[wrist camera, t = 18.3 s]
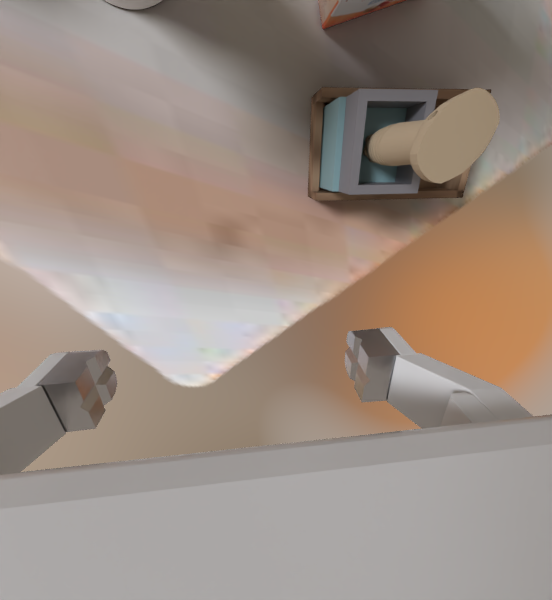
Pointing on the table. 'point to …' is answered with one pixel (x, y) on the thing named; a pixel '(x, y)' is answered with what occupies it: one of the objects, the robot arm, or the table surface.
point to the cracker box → (349, 9)
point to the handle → (439, 137)
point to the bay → (426, 190)
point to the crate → (357, 127)
